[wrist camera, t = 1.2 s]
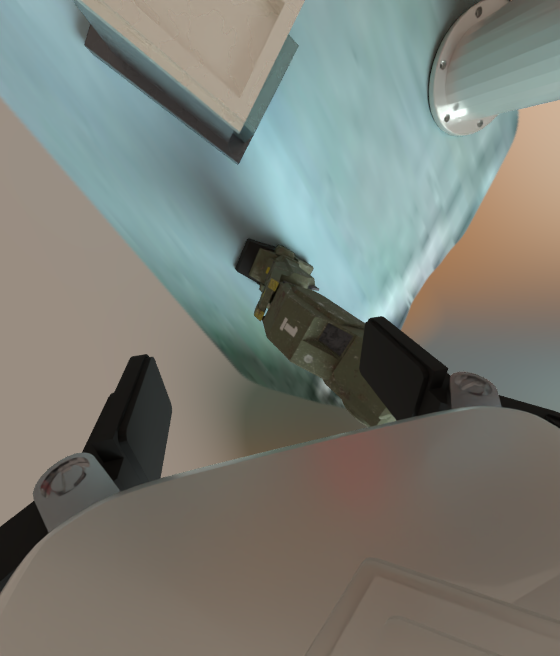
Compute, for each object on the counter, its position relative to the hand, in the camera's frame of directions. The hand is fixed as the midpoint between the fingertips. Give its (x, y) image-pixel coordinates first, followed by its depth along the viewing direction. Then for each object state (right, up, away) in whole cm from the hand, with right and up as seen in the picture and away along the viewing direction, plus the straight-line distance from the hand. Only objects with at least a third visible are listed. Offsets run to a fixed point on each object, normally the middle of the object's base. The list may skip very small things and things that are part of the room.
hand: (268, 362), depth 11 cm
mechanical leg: (0, +11, +29) cm, 31 cm away
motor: (-8, +29, +15) cm, 34 cm away
